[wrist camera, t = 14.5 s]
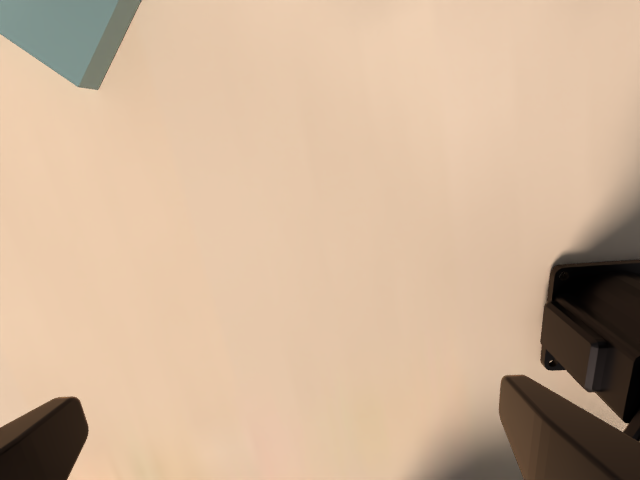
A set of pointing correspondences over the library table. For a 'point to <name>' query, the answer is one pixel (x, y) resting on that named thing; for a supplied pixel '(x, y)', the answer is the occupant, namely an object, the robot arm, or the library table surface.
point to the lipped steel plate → (69, 34)
